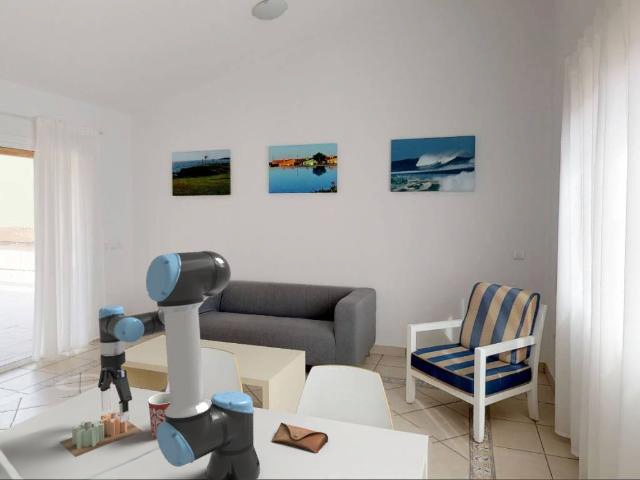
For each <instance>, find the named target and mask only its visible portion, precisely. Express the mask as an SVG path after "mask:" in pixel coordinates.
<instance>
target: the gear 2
mask: <svg viewBox="0 0 640 480" xmlns="http://www.w3.org/2000/svg"><path fill="white" fill-rule="evenodd" d="M113 413H118V417H117V418H113V419H111V414H113ZM128 421H129V420H127V421H124V422H120V411H117V410H113V412H109V413H107V414H101V415H100V419H99V424H103V423H104V435H107V436H109V435H111V437H114V436H115V435H116V434H120V433H121V432H124V433H125V432H127V426H128Z"/></svg>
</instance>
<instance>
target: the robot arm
mask: <svg viewBox="0 0 640 480" xmlns="http://www.w3.org/2000/svg"><path fill="white" fill-rule="evenodd" d="M231 274H232V271H231V267H230V264H229V262H228V260H227V259H226V258H225V257H224V256H222V255H221V254H220V253H218V252H214V251H211V250H202V251H188V252H172V253H165V254H160V255H158V256H155V257H154V258H153V260H152V261H151V262H150V265H149V266H148V269H147V271H146V279H145V286H146V292H147V293H148V294H147V295H148V297H149V299H151V300H152V301H153V302H156V306H157V308H158V309H157V310H153V311H148V312H142V313H138V314H132V315H125V312H124V311H125V310H124V307H123V306H122V305H108V306H103V307H101V308H100V309H99V310H98V318H97V321H98V326H99V327H98V328H99V329H98V330H99V354H100V373H99V379H98V384H97V388H98V389H100V391H101V411H102V412H104V411H108V410H111V409H112V398H111V397H112V396H111V384H112V385H114V386H115V388H116V393H117V395H118V398H119V401H118V405H119V409H118V411H119V412H120V422H124V421H127V420H128V421H129V420H130V409H129V407H130V406H129V405H130V401H133V395H132V392H131V388H130V384H129V380H128V375H127V373H128V372H127V369H124V370H123V369H122V365H124V364H125V363H126V361H127V360H126V351H125V350H126V343H129V344H130V343H136V342H137V341H139V340H140V339H141V338H143V337H147V336H152V335H157V334H162V333H163V334H164V333H165V347H166V349H165V350H166V359H167V362H166V363H167V375H168V377H167V378H168V389H169V392H168V393H170V405H169V406H168V408H167V409H166V410H165V422H162V423H161V424H160V425H159V426H158V428H157V438H156V439H157V440H156V441H157V444H158V447H159V450H160V452H161V453H162V455H163V458H165V460H166V461H167V462H168V463H169V464H170V465H171V466H173V467H176V468H179V467H183V466H186V465H188V464H192V463H194V462H195V461H198V460H199V459H201V458H202V457H205V456H207V455H209V454H210V456H209V461H208V463H207V466H206V471H205V473H206V475H205V476H206V480H257V479H258V478H259V476H260V473H261V464H260V460H259V457H258V453H257V451H256V448H255V444H254V442H255V441H254V440H255V439H254V413H255V410H254V403H253V402H254V401H253V399H252V397H251V396H250V395H249V394H247V393H245V392H242V391H234V390H230V391H229V390H228V391H220V392H216V393H215V394H213V395H212V397H211V399H210V401H209V400H208V399H206V398H205V389H204V388H205V387H204V373H203V362H202V361H203V360H202V346H201V329H200V316H199V308H200V307H201V306H202V305H203V304H204V302H205V301H206V300H207V299H209V298H213V297H216V296H217V295H219V294H220V293H221V292H223V290H225V289H226V287H227V286H228V285H229V283H230V281H231V276H232V275H231Z"/></svg>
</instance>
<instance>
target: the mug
mask: <svg viewBox="0 0 640 480" xmlns="http://www.w3.org/2000/svg"><path fill="white" fill-rule="evenodd" d="M147 402H148V410H149V422H150V431H151V432H150V434H151V437H152V438H154V439H157V428H158V426H159V425H160V424H161V423H162V422H165V410H166V409H167V408H168V406H169V405H170V392H160V393H157V394H154V395H152V396H150V397H149V398H148V399H147Z"/></svg>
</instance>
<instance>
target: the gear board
mask: <svg viewBox="0 0 640 480" xmlns="http://www.w3.org/2000/svg"><path fill="white" fill-rule="evenodd" d="M112 413H113V412H112ZM117 417H118V413H113V414H111V419H113V418H117ZM85 422H86V423H85V424H84V426H85V429H89V428H91V427H92V423H91V422H92V421H91V422H90V421H85ZM141 432H143V430H142V429H141V428H139V427H138V426H136V425H134V424H133V423H131V422H130V421H129V420H128V426H127V432H125V433H124V432H121V433H120V434H116V435H115V436H114V437H111V435H109V436H107V435H104V440H99V441H98V443H96V446H94V447H92V446H91V445H90V446H87V447H85V446H83V447H82V448H80V449H77V444H72V437H70V438H66V439H65V440H62V441H59V443H60V444H61V445H62V446H63V447H64V448H66V450H67V451H69V453H71V454H72V456H73V457H75V458H76V457H79V456H82V455H84V454H86V453H89V452H92V451H94V450H97V449H100V448H102V447H104V446H107V445H111V444H112V443H115V442H117V441H120V440H122V439H125V438H128V437H130V436H133V435H135V434H138V433H141Z"/></svg>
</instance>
